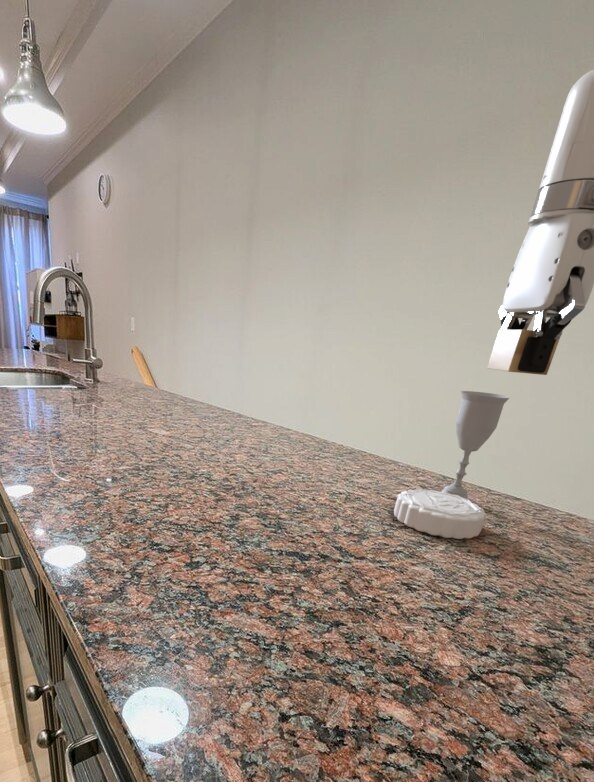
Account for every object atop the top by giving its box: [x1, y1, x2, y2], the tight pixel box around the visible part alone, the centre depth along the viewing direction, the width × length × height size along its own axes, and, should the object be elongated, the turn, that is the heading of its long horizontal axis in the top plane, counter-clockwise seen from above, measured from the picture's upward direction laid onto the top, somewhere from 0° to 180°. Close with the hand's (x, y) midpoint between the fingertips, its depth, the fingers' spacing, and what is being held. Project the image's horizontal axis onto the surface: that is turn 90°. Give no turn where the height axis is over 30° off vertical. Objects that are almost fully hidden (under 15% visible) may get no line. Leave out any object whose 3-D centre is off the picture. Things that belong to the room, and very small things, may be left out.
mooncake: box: [393, 488, 487, 540], centre depth 66 cm, size 12×12×4 cm
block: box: [487, 329, 561, 376], centre depth 58 cm, size 5×5×5 cm
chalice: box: [440, 390, 511, 499], centre depth 74 cm, size 7×7×18 cm
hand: (517, 368), depth 59 cm, fingers closed on block, 5 cm apart
